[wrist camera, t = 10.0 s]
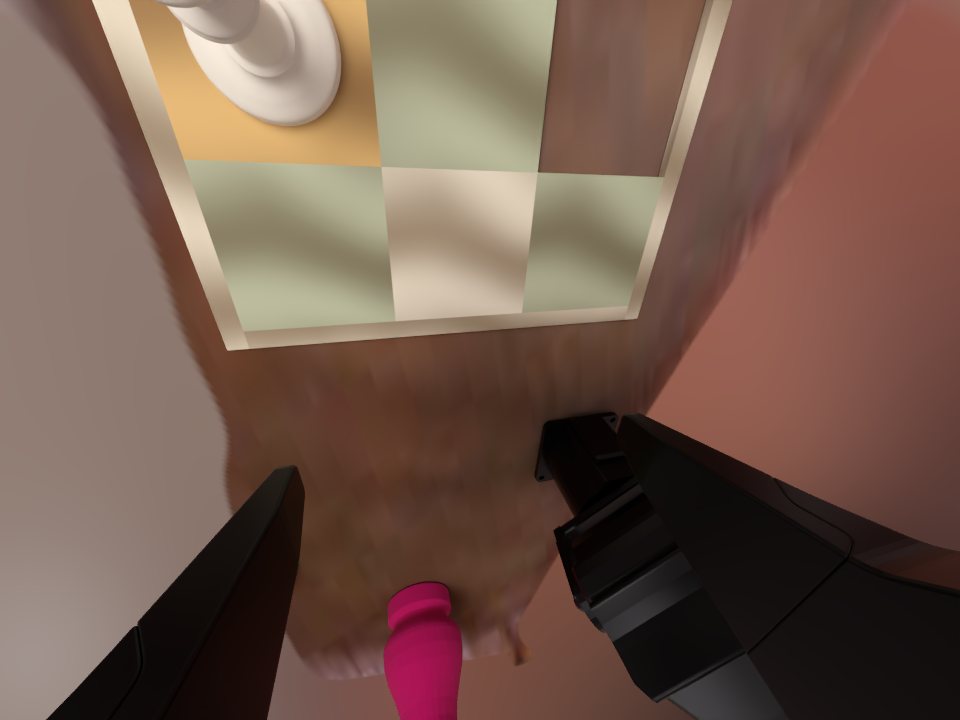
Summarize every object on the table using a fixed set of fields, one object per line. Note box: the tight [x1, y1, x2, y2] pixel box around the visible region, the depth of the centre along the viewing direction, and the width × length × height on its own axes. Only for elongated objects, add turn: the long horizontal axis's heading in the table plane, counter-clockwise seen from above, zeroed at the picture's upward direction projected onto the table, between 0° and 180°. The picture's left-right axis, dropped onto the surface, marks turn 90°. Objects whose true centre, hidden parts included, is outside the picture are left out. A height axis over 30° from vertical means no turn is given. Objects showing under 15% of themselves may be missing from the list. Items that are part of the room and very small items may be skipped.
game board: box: [92, 0, 733, 350], centre depth 16 cm, size 17×24×1 cm
